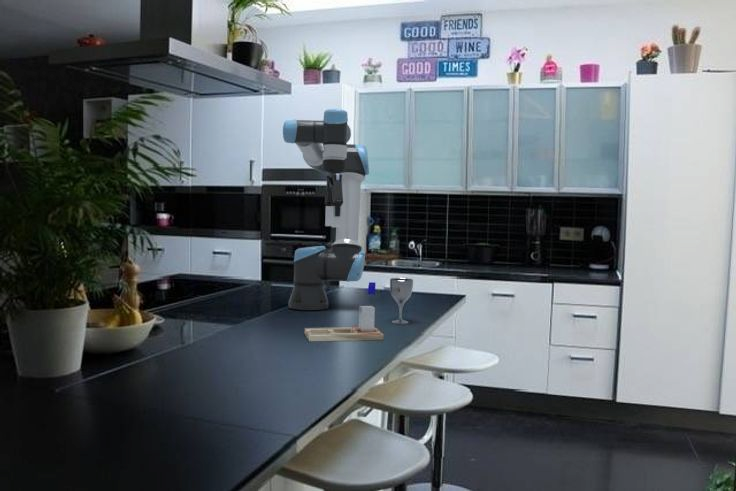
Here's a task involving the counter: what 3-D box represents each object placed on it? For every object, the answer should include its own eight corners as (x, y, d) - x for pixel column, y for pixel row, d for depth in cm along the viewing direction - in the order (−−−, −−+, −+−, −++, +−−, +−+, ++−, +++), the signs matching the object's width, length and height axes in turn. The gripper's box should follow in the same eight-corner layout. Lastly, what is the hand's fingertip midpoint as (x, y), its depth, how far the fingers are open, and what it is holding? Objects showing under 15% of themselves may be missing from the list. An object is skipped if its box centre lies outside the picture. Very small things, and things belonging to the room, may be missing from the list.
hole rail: (304, 333, 191) (304, 327, 191) (374, 332, 196) (374, 326, 196) (309, 341, 180) (309, 335, 180) (383, 340, 184) (383, 333, 184)
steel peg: (358, 335, 191) (359, 305, 191) (371, 334, 192) (371, 305, 191) (361, 337, 187) (361, 307, 187) (373, 337, 188) (374, 307, 187)
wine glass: (414, 321, 217) (415, 278, 216) (408, 325, 210) (409, 281, 209) (392, 319, 220) (393, 277, 219) (385, 323, 212) (387, 279, 211)
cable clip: (365, 295, 284) (365, 282, 283) (375, 295, 283) (375, 282, 283) (364, 298, 272) (364, 285, 271) (374, 299, 271) (375, 285, 271)
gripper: (317, 161, 208) (315, 225, 209) (329, 155, 183) (327, 227, 184) (339, 162, 209) (337, 225, 210) (354, 156, 185) (352, 228, 186)
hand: (332, 226), depth 197 cm, fingers open, 13 cm apart
